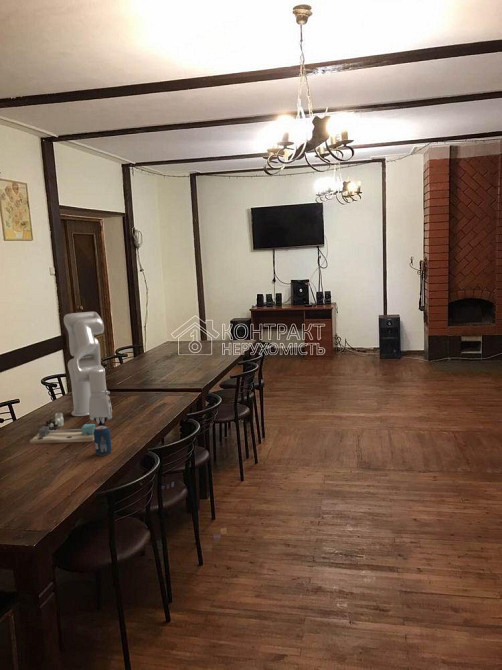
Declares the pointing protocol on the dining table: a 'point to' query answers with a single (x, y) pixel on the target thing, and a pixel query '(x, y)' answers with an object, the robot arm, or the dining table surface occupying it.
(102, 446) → the soda can
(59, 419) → the valve
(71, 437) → the board
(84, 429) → the sliding block
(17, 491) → the dining table surface
